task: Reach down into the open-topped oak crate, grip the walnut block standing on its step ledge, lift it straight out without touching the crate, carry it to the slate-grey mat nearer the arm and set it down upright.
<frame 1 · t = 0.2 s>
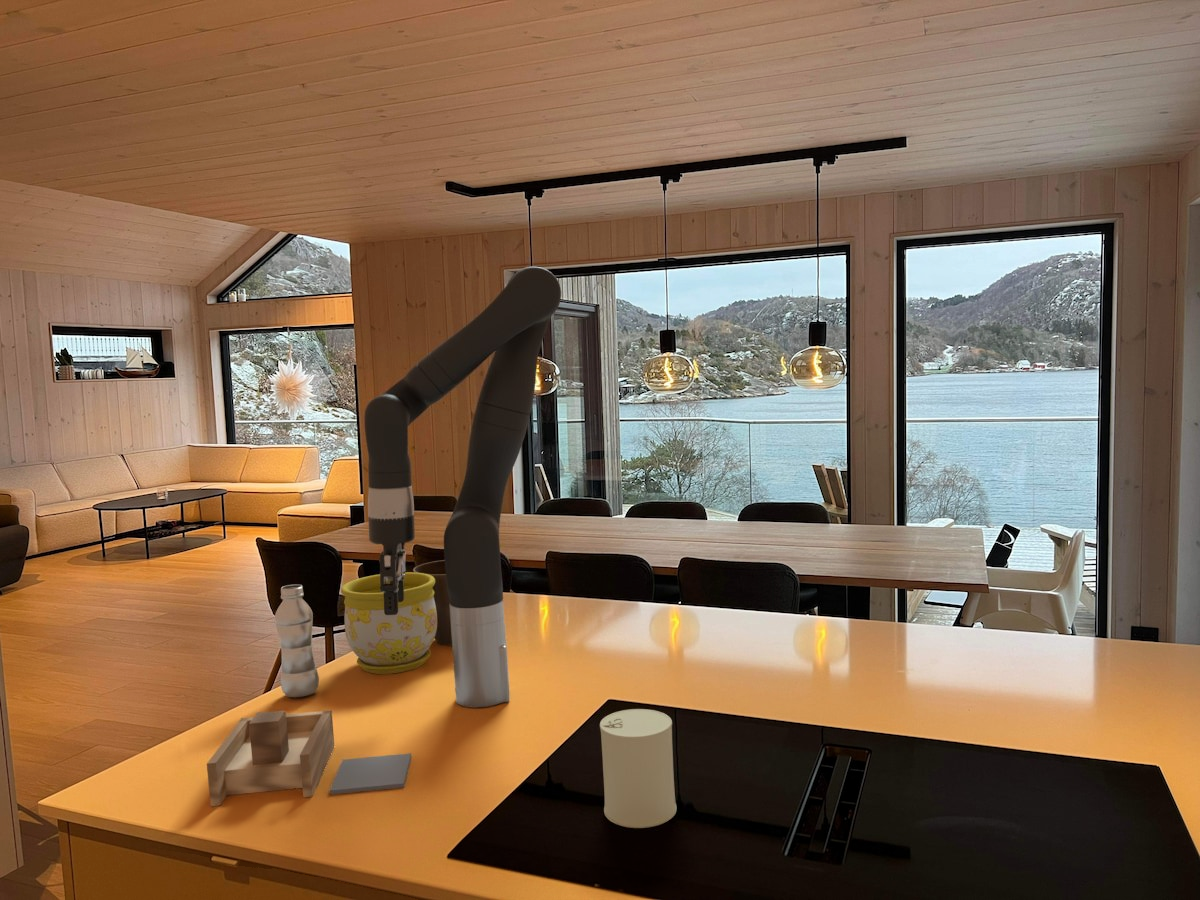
hand: (394, 607, 154), 17 cm above the counter, tool pointing down, fingers open, 8 cm apart
plastic bottle: (301, 696, 165), on the counter
can: (640, 811, 116), on the counter
crate: (276, 775, 132), on the counter
plant pot: (454, 640, 194), on the counter
mat: (372, 775, 130), on the counter
block: (271, 757, 129), point 3 cm above the counter, touching crate
flowerpot: (394, 664, 180), on the counter
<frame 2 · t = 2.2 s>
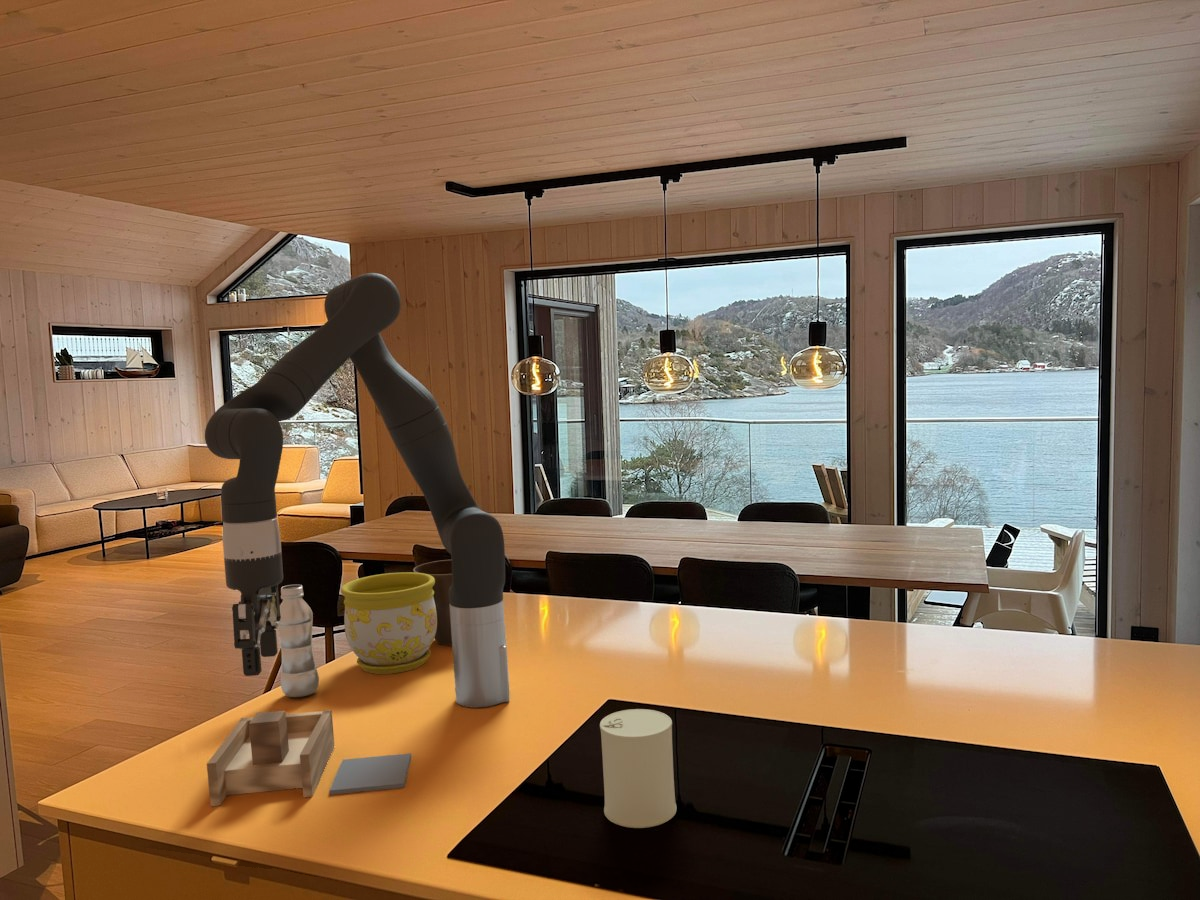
hand: (261, 665, 128), 17 cm above the counter, tool pointing down, fingers open, 8 cm apart
nothing on the counter moved.
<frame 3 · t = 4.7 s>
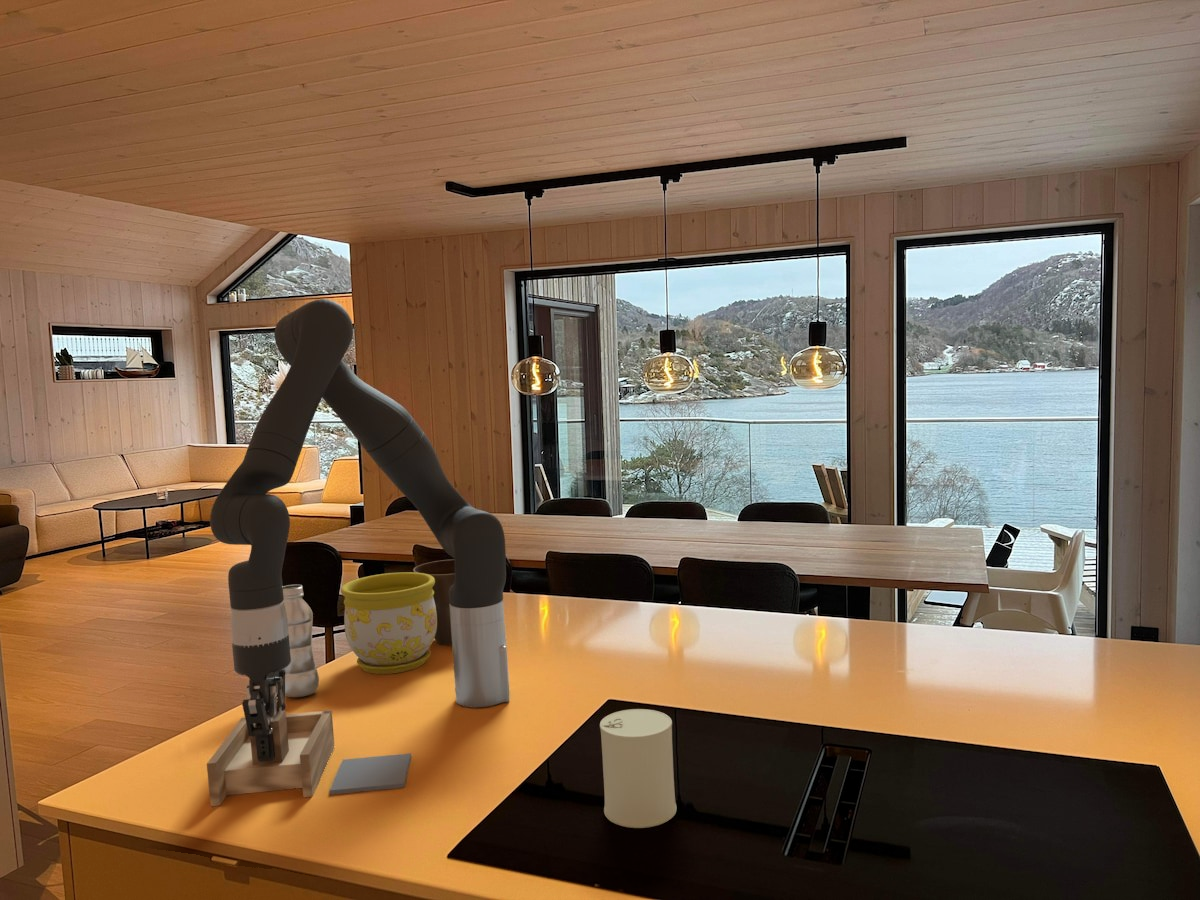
hand: (270, 752, 129), 4 cm above the counter, tool pointing down, fingers closed on block, 4 cm apart
block: (271, 757, 129), point 4 cm above the counter, touching crate, gripper
everything else where it was.
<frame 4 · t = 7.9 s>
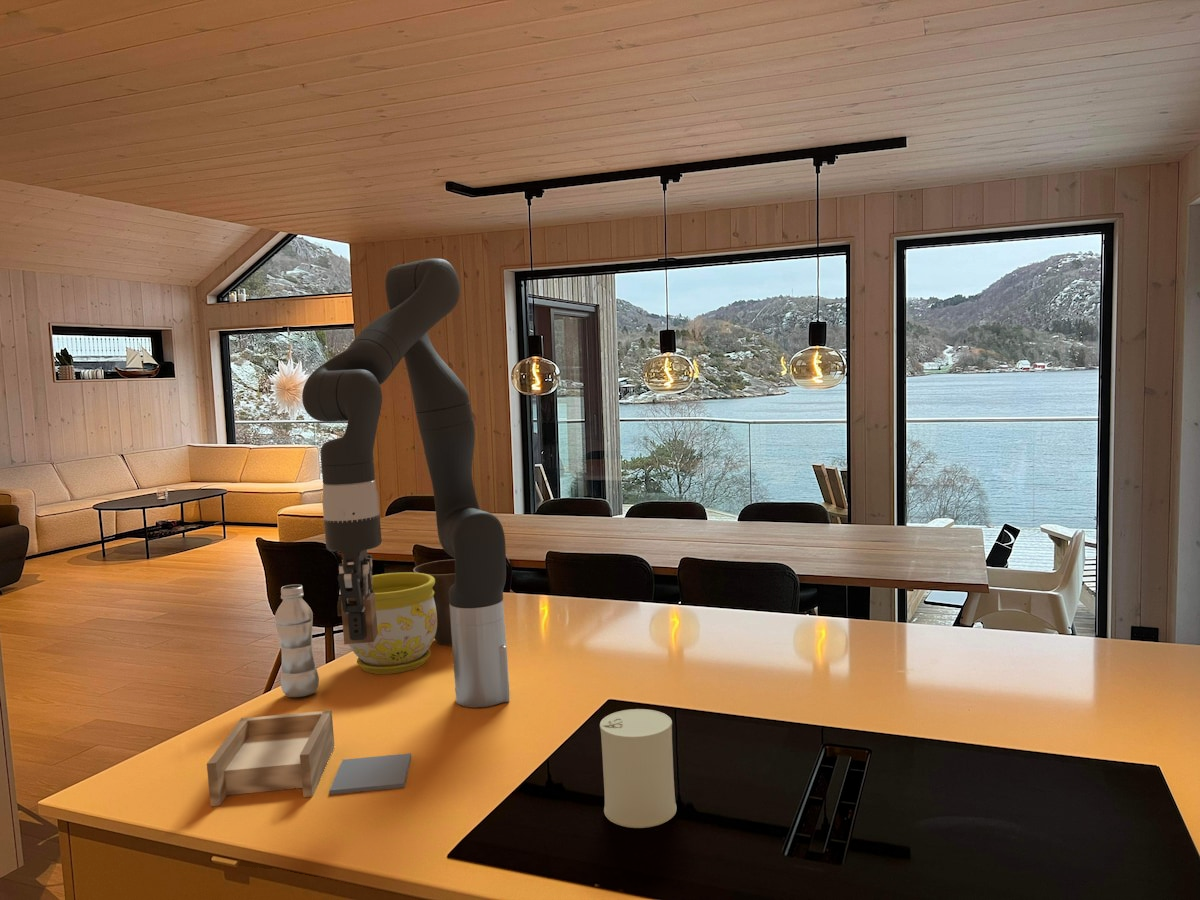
hand: (361, 633, 128), 21 cm above the counter, tool pointing down, fingers closed on block, 4 cm apart
block: (361, 639, 128), point 20 cm above the counter, touching gripper
everything else where it was.
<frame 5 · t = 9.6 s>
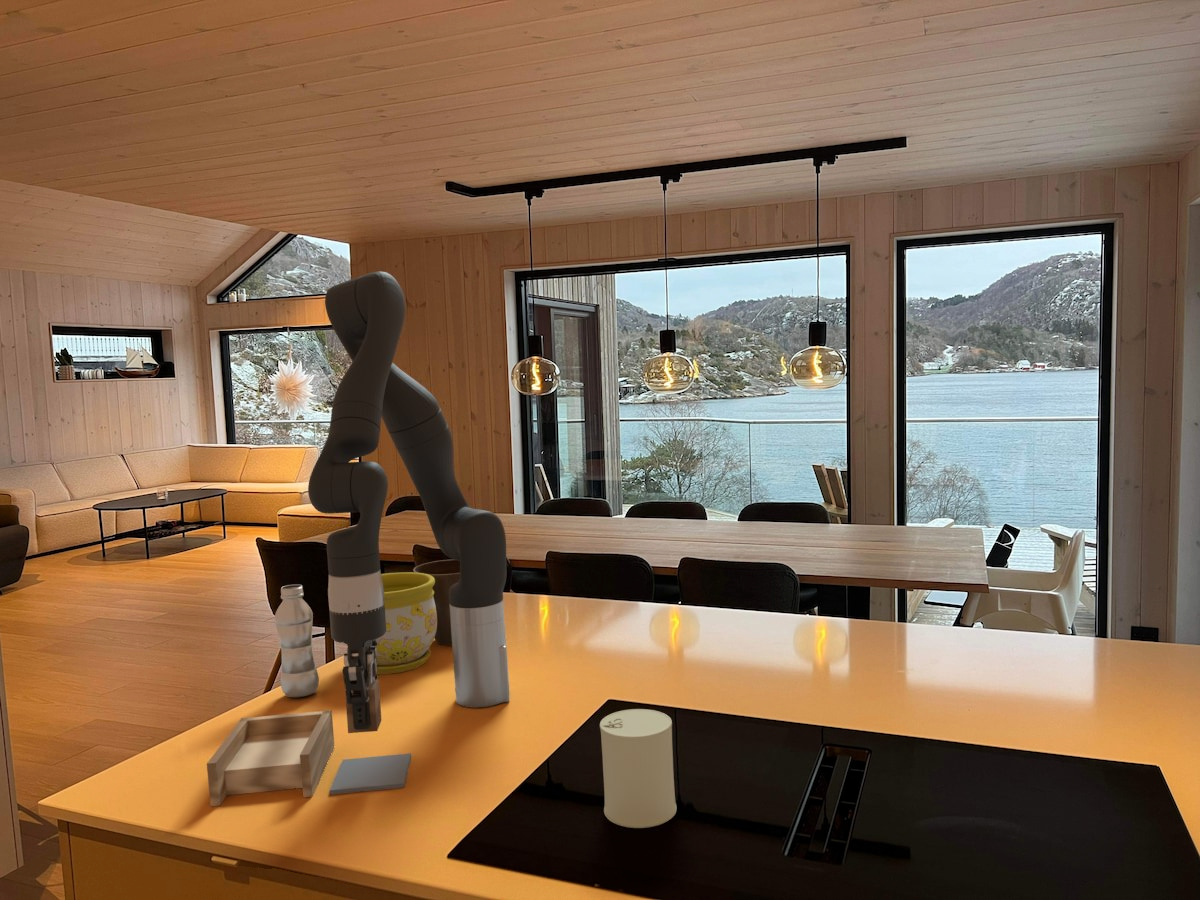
hand: (365, 721, 129), 8 cm above the counter, tool pointing down, fingers closed on block, 4 cm apart
block: (365, 726, 129), point 7 cm above the counter, touching gripper
everything else where it was.
when the fingers open (3 cm above the counter, at t = 11.2 s): block drops 2 cm, resting on mat.
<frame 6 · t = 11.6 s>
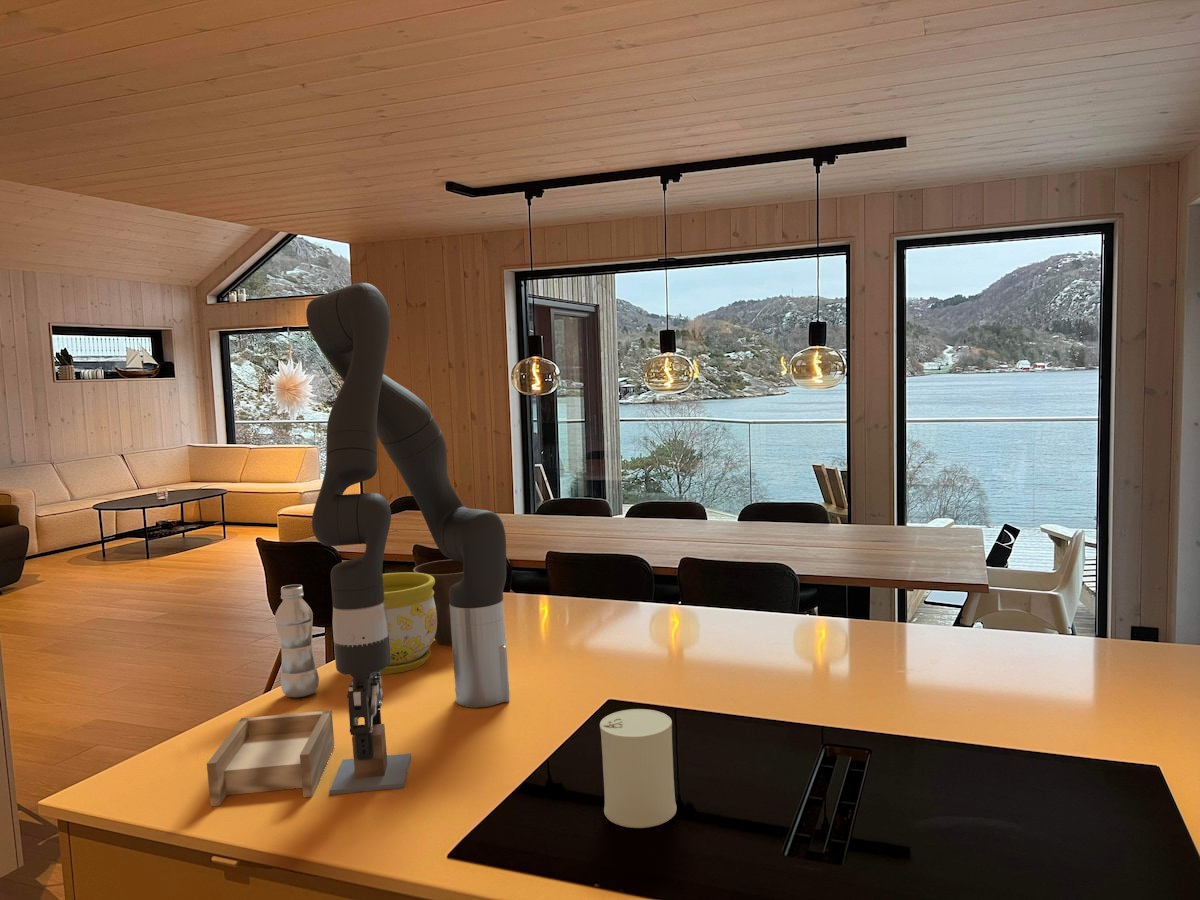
hand: (370, 746, 130), 4 cm above the counter, tool pointing down, fingers open, 8 cm apart
block: (371, 771, 130), point 1 cm above the counter, touching mat
everything else where it was.
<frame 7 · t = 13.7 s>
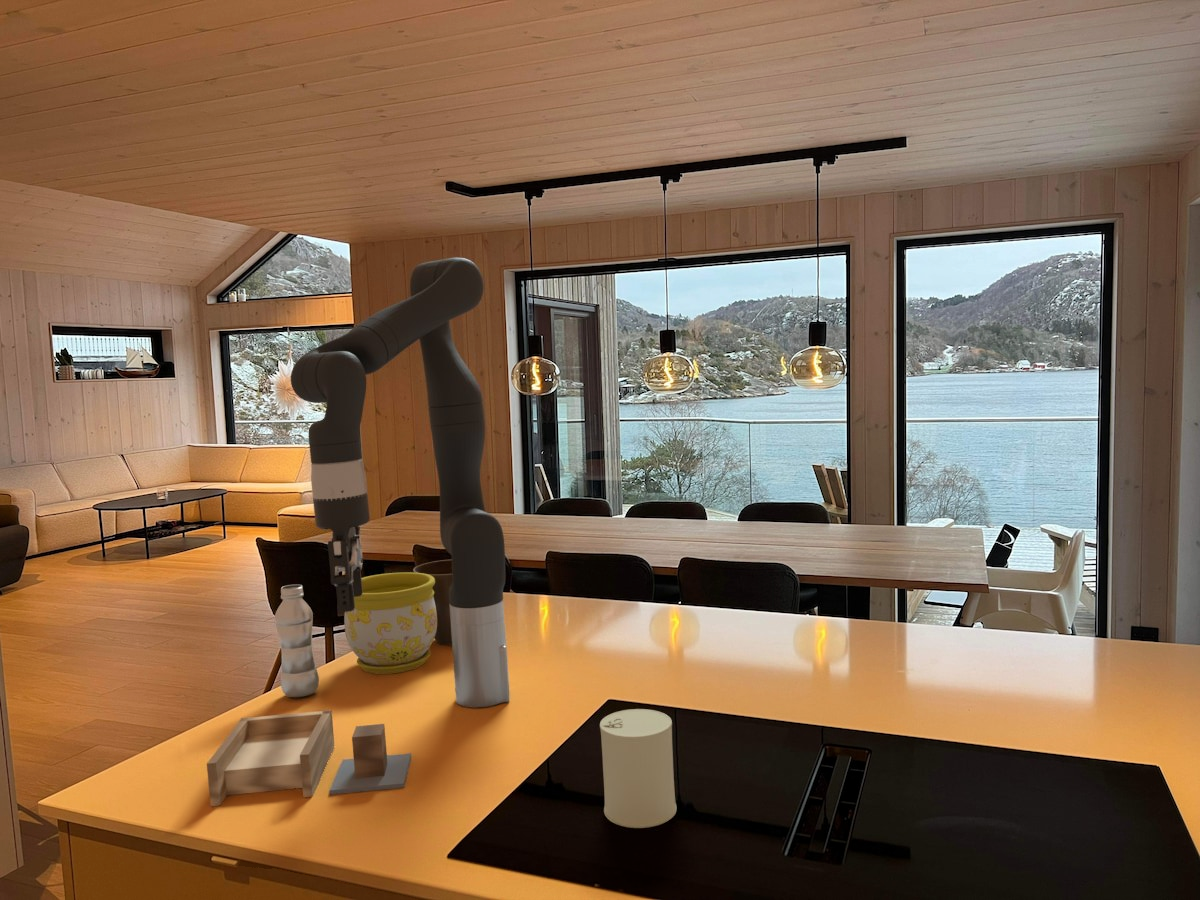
hand: (351, 603, 132), 24 cm above the counter, tool pointing down, fingers open, 8 cm apart
nothing on the counter moved.
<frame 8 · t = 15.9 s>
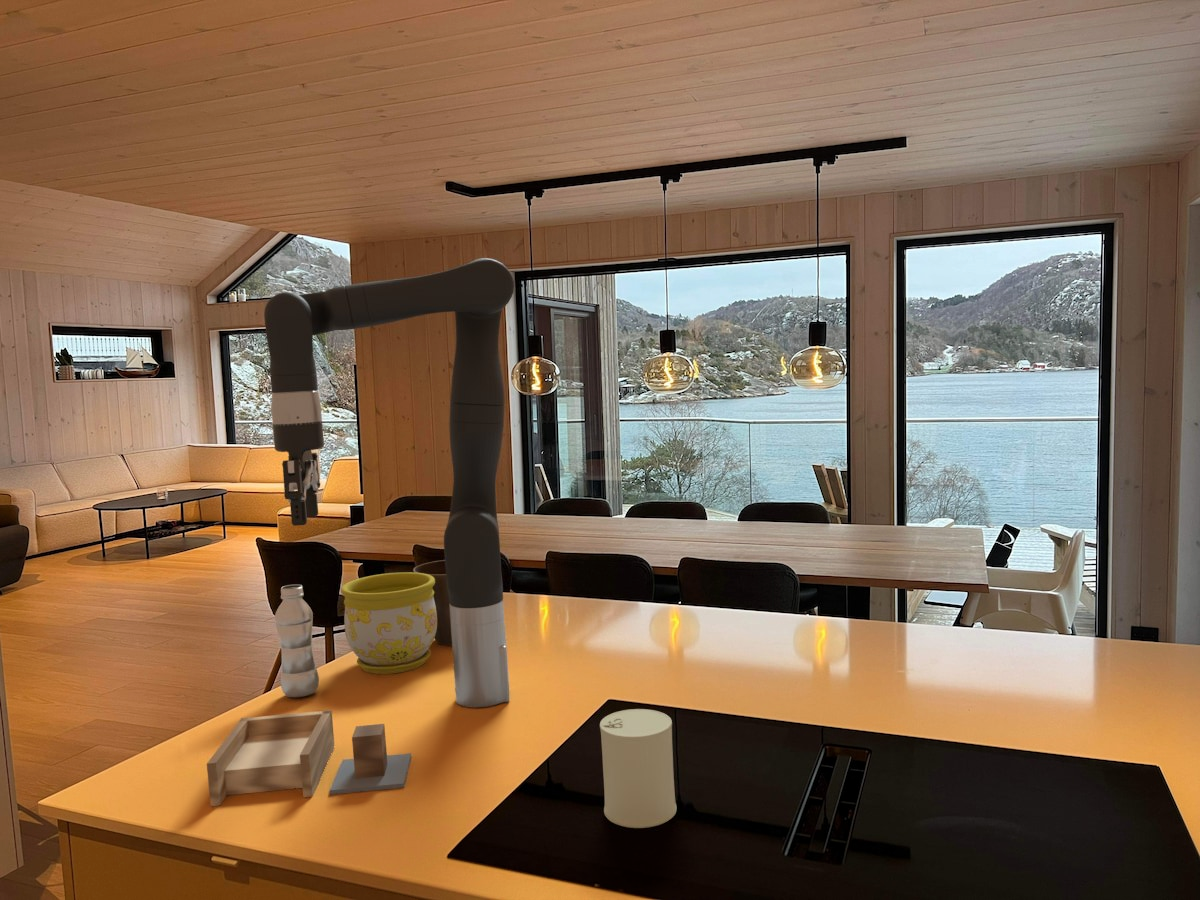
hand: (305, 520, 147), 34 cm above the counter, tool pointing down, fingers open, 8 cm apart
nothing on the counter moved.
at the end: block inside the target area on the mat (0.1 cm from its centre), point 0.6 cm above the mat's base; block tilted 0°; block touching mat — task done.
